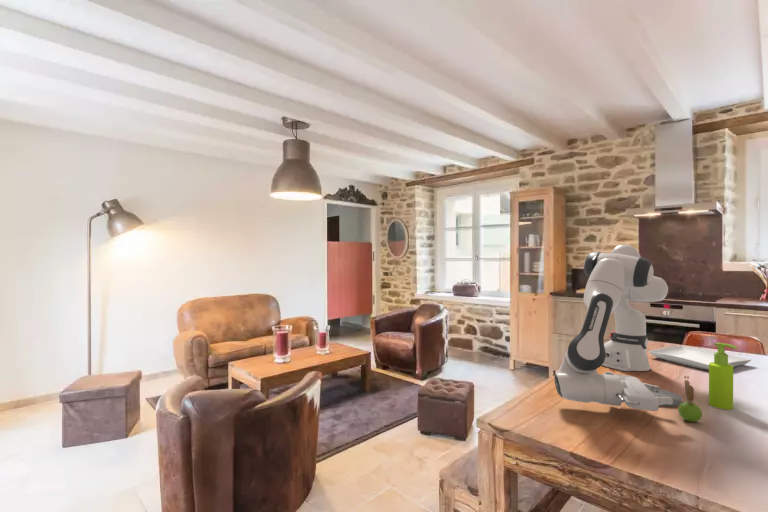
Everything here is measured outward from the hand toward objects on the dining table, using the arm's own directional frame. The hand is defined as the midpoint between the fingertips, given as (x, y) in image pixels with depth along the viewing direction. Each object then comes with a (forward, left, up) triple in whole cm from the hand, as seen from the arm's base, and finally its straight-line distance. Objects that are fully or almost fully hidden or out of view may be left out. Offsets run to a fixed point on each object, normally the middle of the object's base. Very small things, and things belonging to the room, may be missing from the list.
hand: (665, 394), depth 116 cm
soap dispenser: (+10, +23, -7) cm, 26 cm away
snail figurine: (+5, +3, -7) cm, 9 cm away
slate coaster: (-6, +16, -7) cm, 18 cm away
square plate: (-5, +81, -7) cm, 81 cm away
